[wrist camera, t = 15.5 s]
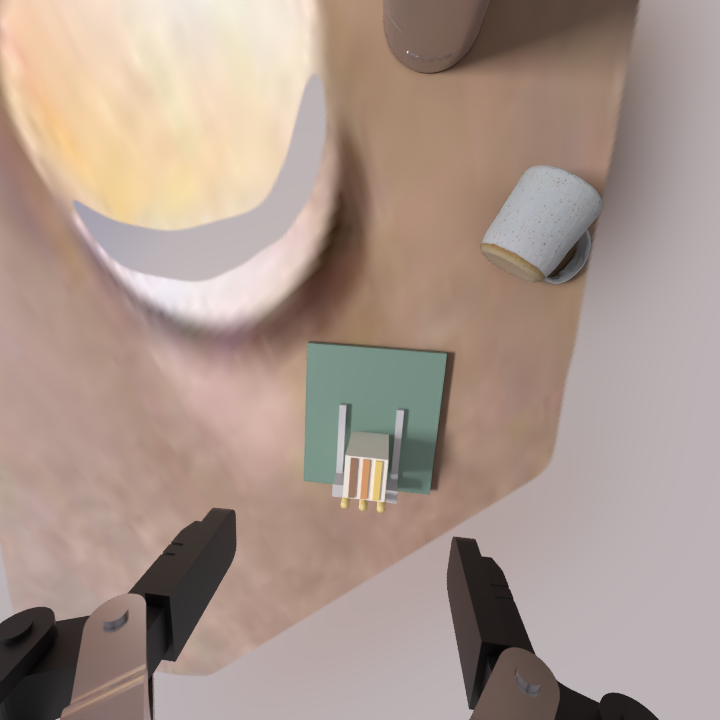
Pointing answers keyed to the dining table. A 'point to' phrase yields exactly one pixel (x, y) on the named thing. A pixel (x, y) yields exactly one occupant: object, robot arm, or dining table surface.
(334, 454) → the header board
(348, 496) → the plug block
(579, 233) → the ceramic mug
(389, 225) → the dining table surface
